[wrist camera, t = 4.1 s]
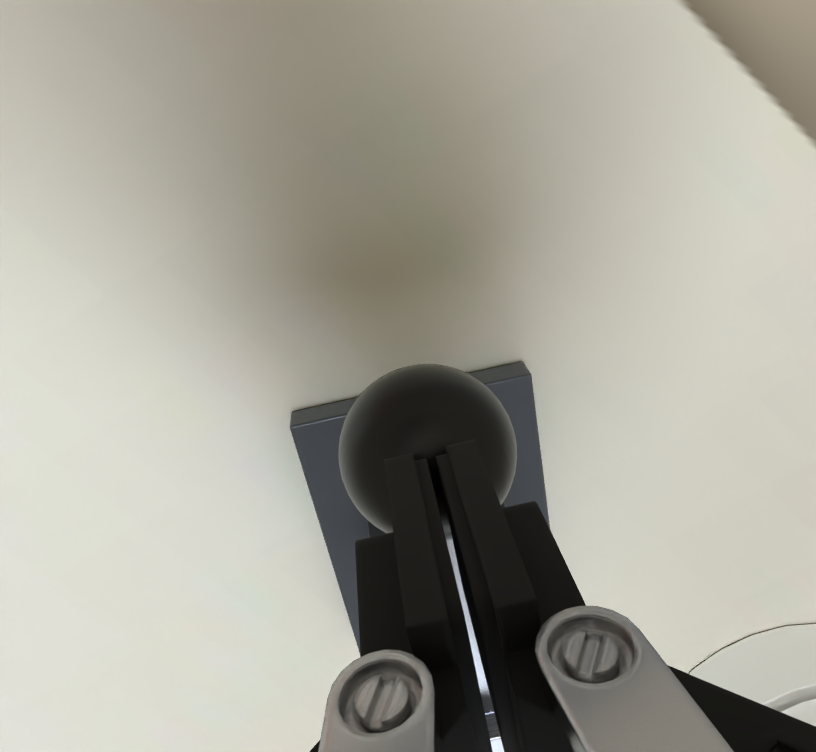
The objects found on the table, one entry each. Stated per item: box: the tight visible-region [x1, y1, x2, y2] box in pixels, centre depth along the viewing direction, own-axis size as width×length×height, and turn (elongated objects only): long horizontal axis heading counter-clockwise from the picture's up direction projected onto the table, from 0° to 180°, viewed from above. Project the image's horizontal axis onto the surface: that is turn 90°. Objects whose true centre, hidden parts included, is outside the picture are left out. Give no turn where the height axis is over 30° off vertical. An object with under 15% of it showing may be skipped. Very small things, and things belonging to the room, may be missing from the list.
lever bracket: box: [290, 362, 550, 652], centre depth 23 cm, size 12×9×12 cm
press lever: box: [339, 364, 517, 752], centre depth 16 cm, size 13×4×4 cm, turn 11°
